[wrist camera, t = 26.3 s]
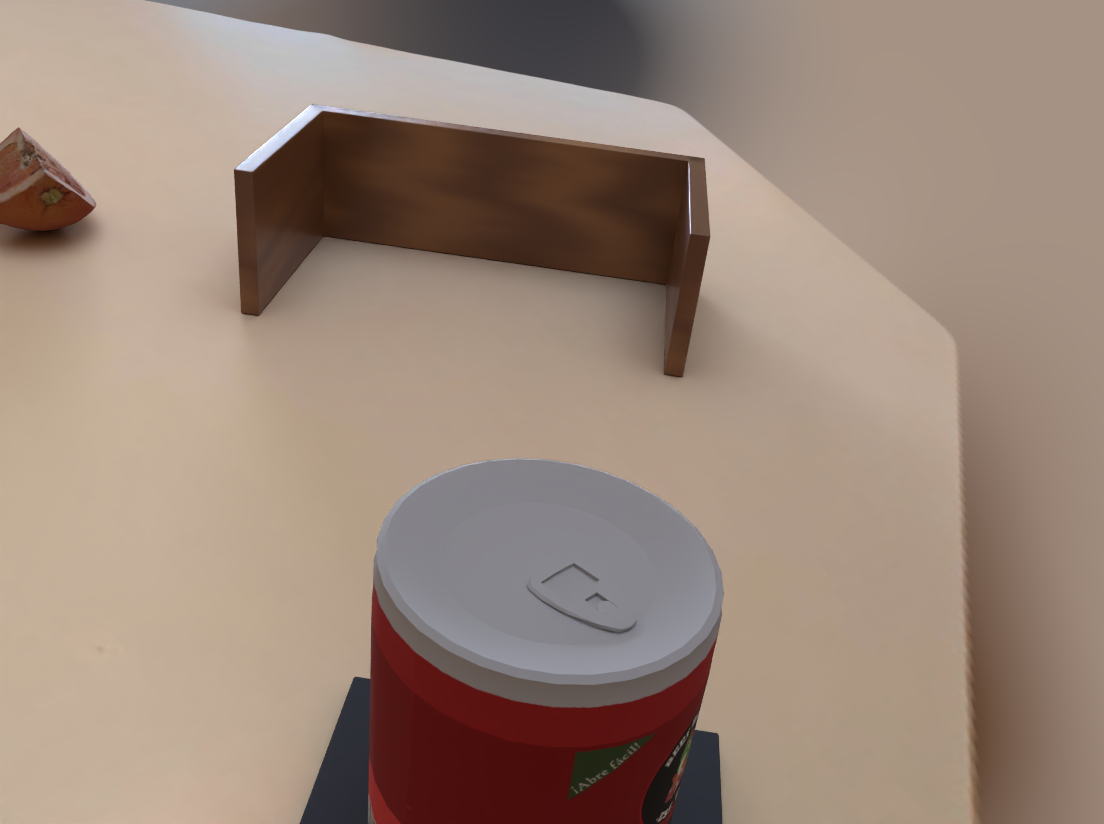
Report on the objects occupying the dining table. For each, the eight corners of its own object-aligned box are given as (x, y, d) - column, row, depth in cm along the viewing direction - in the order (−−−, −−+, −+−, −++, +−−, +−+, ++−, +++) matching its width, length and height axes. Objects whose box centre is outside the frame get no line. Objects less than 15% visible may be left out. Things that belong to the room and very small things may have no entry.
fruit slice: (113, 248, 62) (104, 166, 59) (-14, 262, 58) (-30, 175, 56) (83, 199, 68) (73, 122, 65) (-34, 209, 64) (-49, 129, 62)
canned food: (570, 1071, 24) (641, 747, 19) (302, 899, 27) (293, 574, 22) (694, 834, 30) (776, 534, 25) (463, 714, 33) (489, 421, 28)
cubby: (682, 280, 67) (704, 158, 63) (682, 377, 56) (710, 236, 51) (313, 228, 68) (311, 104, 63) (240, 312, 56) (233, 169, 52)
